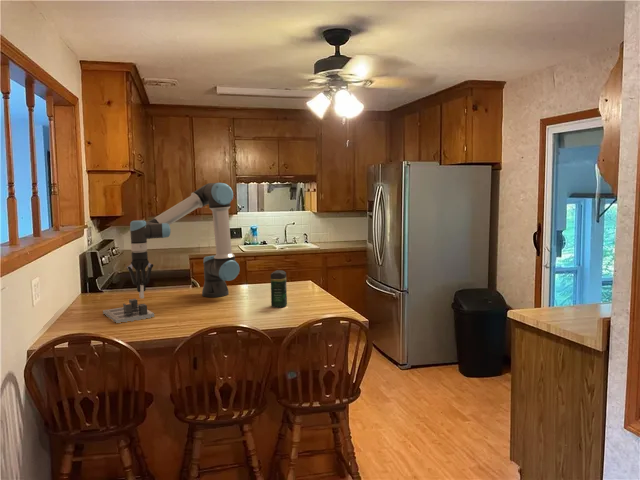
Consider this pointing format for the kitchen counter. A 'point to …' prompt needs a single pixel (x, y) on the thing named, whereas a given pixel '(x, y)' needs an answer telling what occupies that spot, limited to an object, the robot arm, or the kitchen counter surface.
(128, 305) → the block
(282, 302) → the coffee jar
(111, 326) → the kitchen counter surface
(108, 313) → the breaker panel
